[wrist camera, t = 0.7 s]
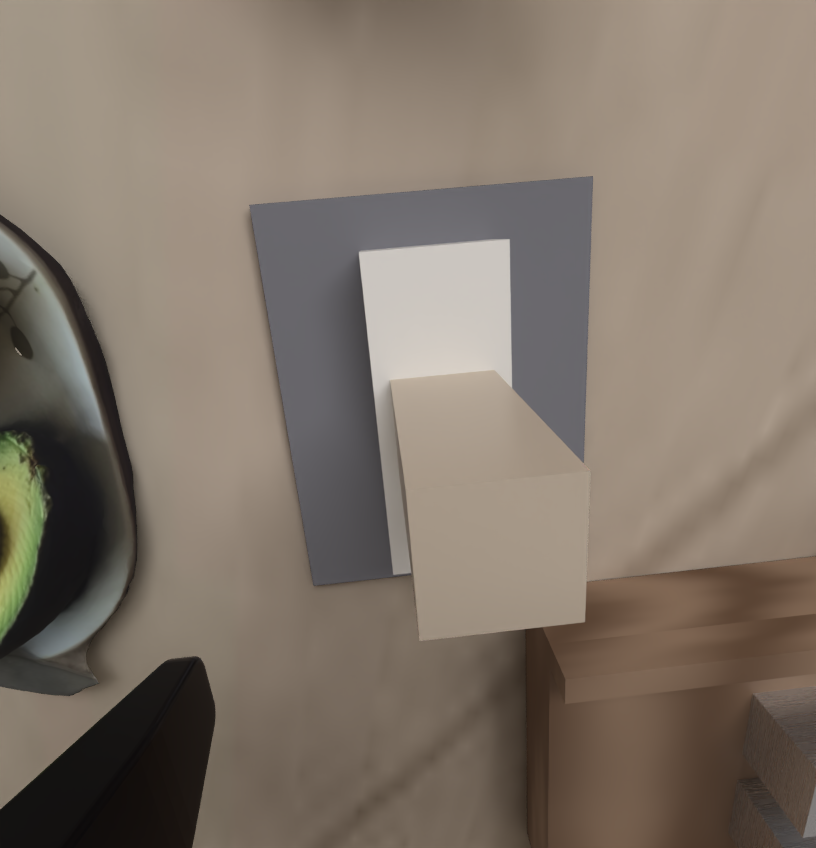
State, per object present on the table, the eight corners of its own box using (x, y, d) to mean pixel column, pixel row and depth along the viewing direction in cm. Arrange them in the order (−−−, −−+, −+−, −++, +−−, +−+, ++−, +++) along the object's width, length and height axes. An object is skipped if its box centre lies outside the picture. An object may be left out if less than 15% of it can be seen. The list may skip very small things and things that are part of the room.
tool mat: (587, 177, 16) (592, 176, 15) (576, 550, 20) (580, 556, 20) (252, 205, 15) (249, 205, 15) (314, 579, 20) (313, 585, 19)
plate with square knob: (493, 239, 16) (635, 238, 7) (500, 529, 19) (603, 759, 11) (359, 250, 16) (348, 263, 7) (391, 541, 19) (407, 784, 11)
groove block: (846, 552, 21) (966, 631, 17) (790, 799, 26) (873, 909, 22) (525, 588, 21) (565, 679, 16) (527, 833, 25) (559, 952, 21)
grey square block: (811, 770, 21) (881, 854, 18) (799, 823, 22) (863, 910, 19) (737, 780, 21) (795, 866, 18) (728, 832, 22) (781, 921, 19)
